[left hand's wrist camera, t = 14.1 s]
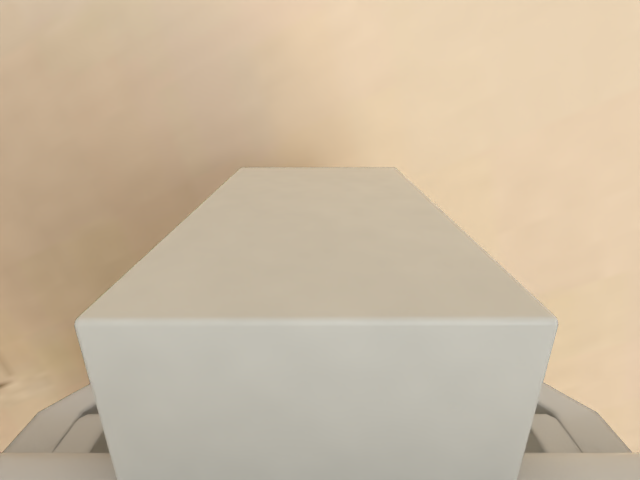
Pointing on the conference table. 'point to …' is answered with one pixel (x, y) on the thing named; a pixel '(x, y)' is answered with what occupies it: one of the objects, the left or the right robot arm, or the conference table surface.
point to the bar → (316, 340)
